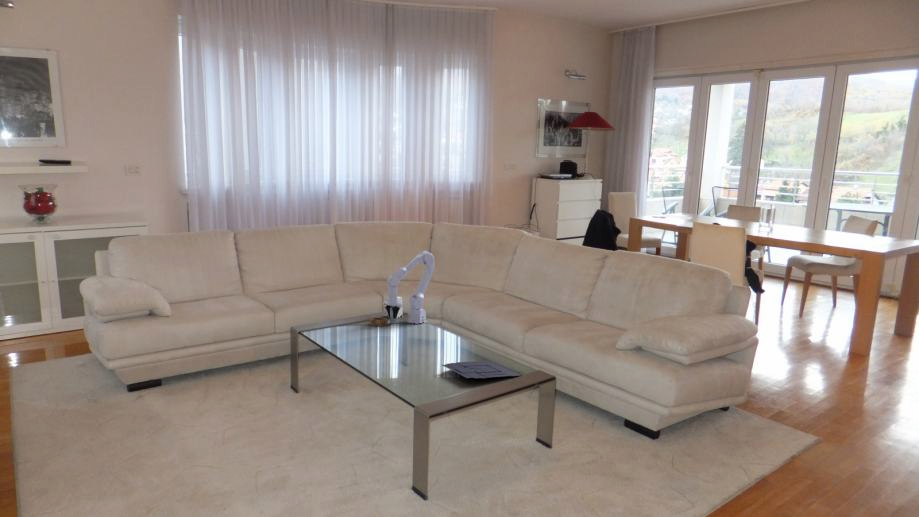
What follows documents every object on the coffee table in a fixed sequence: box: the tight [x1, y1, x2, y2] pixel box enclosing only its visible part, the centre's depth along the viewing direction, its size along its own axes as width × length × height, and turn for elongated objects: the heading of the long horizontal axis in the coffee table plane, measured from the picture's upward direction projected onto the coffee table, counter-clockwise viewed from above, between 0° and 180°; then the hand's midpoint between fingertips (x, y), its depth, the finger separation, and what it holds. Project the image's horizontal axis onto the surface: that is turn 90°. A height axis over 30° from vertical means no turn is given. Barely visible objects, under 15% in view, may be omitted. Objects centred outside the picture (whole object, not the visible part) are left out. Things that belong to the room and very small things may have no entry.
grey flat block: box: [441, 360, 521, 379], centre depth 267 cm, size 24×30×4 cm
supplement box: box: [386, 296, 403, 319], centre depth 370 cm, size 7×7×13 cm
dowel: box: [389, 307, 396, 324], centre depth 353 cm, size 3×3×9 cm
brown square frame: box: [368, 316, 388, 327], centre depth 350 cm, size 8×8×4 cm
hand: (392, 318), depth 353 cm, fingers closed on dowel, 3 cm apart
